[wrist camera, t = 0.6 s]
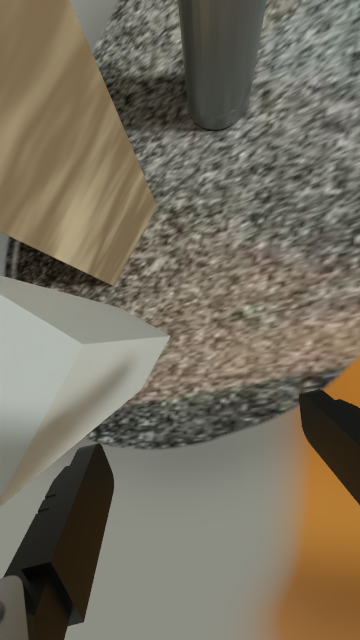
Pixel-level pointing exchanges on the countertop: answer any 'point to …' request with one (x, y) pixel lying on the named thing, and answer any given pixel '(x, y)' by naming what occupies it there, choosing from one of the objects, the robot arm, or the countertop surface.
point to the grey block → (62, 373)
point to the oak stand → (64, 145)
